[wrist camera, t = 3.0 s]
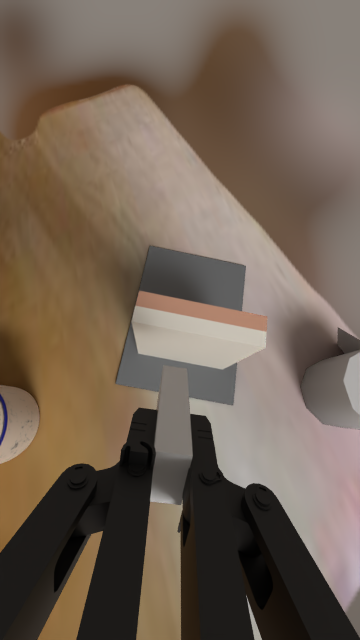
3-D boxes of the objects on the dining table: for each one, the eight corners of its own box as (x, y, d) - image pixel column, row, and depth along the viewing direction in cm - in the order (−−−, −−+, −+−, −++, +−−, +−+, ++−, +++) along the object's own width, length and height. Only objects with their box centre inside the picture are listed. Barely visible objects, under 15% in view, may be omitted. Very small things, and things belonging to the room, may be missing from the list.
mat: (232, 405, 34) (233, 405, 34) (116, 383, 34) (115, 383, 33) (244, 267, 42) (245, 266, 42) (149, 247, 41) (149, 245, 41)
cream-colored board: (222, 369, 36) (265, 347, 22) (138, 353, 35) (131, 321, 22) (224, 348, 37) (267, 316, 23) (143, 333, 36) (139, 290, 23)
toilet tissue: (339, 333, 40) (387, 314, 32) (371, 422, 36) (435, 427, 28) (287, 339, 39) (323, 321, 31) (313, 433, 35) (363, 441, 26)
